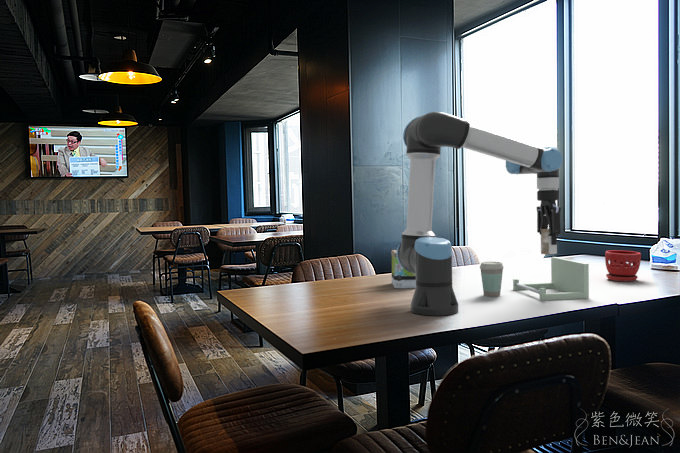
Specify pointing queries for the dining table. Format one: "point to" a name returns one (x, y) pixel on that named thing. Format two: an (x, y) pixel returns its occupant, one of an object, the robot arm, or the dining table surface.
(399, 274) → the tea box
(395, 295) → the dining table surface
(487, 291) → the coffee cup
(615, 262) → the plant pot
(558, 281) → the pale green rack stand
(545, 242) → the spool
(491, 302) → the dining table surface
